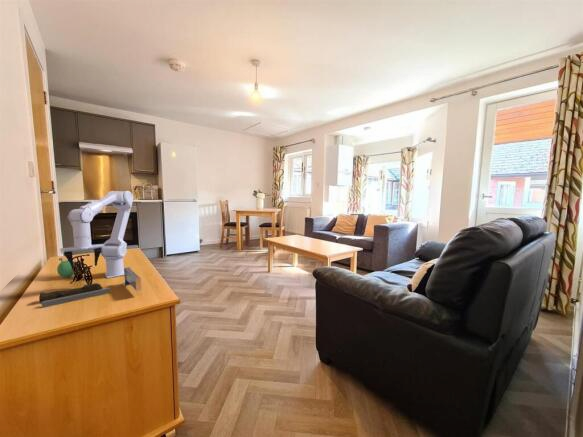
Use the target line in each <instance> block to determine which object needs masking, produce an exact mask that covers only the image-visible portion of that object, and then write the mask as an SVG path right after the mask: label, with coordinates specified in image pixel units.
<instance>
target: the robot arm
mask: <svg viewBox="0 0 583 437" xmlns="http://www.w3.org/2000/svg"><path fill="white" fill-rule="evenodd" d="M134 198H135V197H134V196H133V193H132V192H131V191H130V190H126V191H125V190H124V191H122V190H120V191H118V190H110V191H109V192H107V193H106V195H104V196H103V197H100V199H98V200H97V201H96V200H88V203H86V204H85V205H80V207H79V208H77V209H76V208H74V209H72V210H70V211H69V213H68V215H67V219H68V221H69V222H70V225H71V226H72V232H73V233H72V236H73V246H69V247H63V248H61V247H60V248H59V250H60V252H59V253H60V254H64V257H65V258H66V259H67V260H68V261H69V262H70V264H71V267H72V269H74V264H73V262H74V258H73V257H74V256H73V253H76V252H83V251H93V252H94V253H93V254H94V266H95V267H96V266H98V261H99V258H100V256H101V257H102V258H103V259H104V260H105V271H106V272H104V275H105V277H106V279H110V278H115V277H120V276H124V268H125V267H124V258H125V256H126V255H127V252H128V250H127V248H128V247H127V246H128V243H127V242H126V241H124V237H125V233H126V230H127V229H126V228H127V224H128V223H129V222H128V221H129V217H130V214H131V209H132V207H133V201H134ZM110 204H111V205H112V206H113V207H114V208H116V209H117V212H116V213H117V214H116V215H115V216H116V217H115V221H114V223H113V228H112V231H111V235H110V237H109V239H107V240H106V241H105V242H103V243H97V244H92V236H91V235H92V233H91V222H92V221H93V219H94V217H95V216H96V215H98V214H99V213H101V212H102V211H103V210H104V207H106V206H109V205H110Z"/></svg>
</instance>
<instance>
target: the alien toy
mask: <svg viewBox="0 0 583 437" xmlns="http://www.w3.org/2000/svg"><path fill="white" fill-rule="evenodd" d="M58 260H59V261H61V262H60V263H59V264H58V265H57V267H56V268H57V269H56V270H57V274H58V275H59V276H60V277H61V278H66V279H67V278H71V277H73V276H74V275H75V274H74V272H73V269H72V267H71V264H70V262H69V261H68V259H67V260H63V257H60V258H58ZM75 262H76V261H73V263H75Z"/></svg>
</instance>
